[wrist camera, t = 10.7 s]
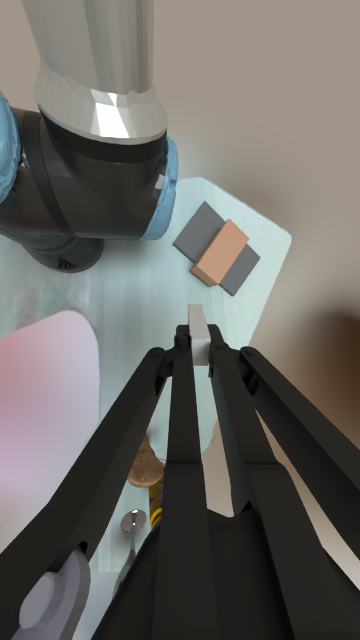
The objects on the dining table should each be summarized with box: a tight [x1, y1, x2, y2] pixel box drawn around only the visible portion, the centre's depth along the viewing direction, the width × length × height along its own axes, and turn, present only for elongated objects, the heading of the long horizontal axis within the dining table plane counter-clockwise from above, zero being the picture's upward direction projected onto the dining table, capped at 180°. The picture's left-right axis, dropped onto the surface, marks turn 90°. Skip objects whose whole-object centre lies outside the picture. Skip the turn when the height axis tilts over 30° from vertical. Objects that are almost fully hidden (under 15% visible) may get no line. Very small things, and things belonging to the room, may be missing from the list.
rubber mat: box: [173, 201, 260, 296], centre depth 42 cm, size 22×14×1 cm, turn 53°
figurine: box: [127, 435, 163, 488], centre depth 35 cm, size 8×8×15 cm
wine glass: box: [112, 510, 146, 599], centre depth 37 cm, size 8×8×15 cm
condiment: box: [149, 459, 166, 530], centre depth 39 cm, size 7×8×12 cm
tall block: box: [190, 219, 249, 287], centre depth 39 cm, size 7×5×14 cm
